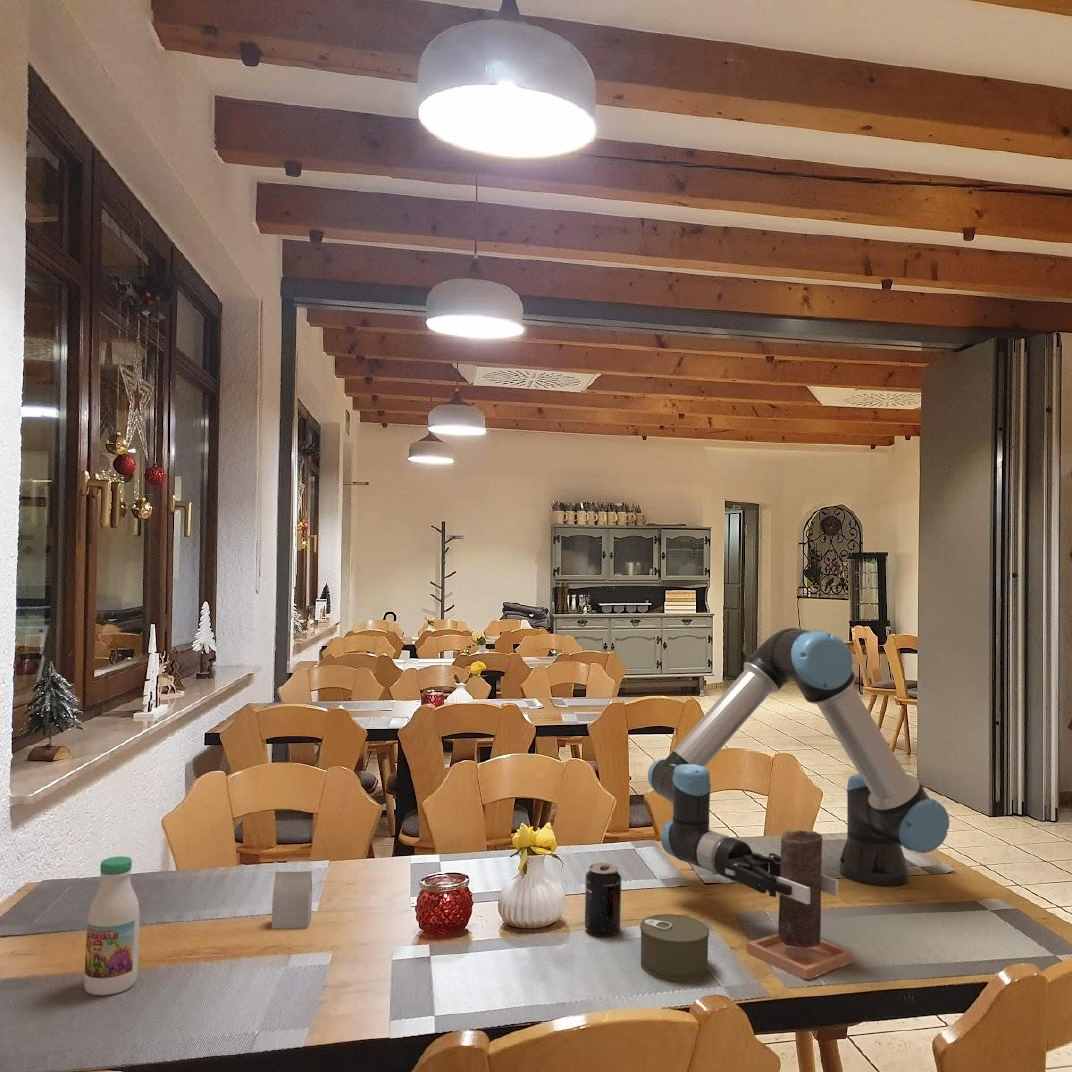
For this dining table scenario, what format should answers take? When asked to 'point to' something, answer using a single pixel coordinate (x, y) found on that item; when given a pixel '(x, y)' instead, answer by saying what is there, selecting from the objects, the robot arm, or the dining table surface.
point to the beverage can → (603, 899)
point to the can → (674, 947)
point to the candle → (805, 869)
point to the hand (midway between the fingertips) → (822, 891)
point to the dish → (800, 956)
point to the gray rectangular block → (292, 899)
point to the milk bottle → (112, 931)
